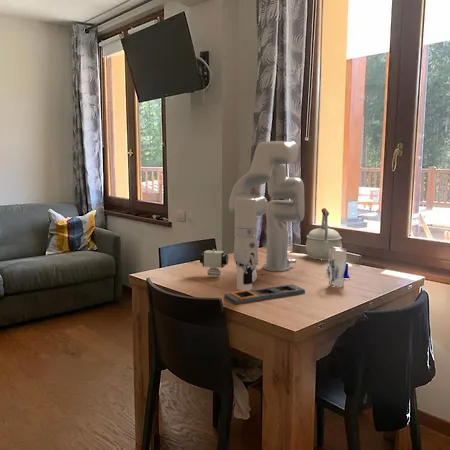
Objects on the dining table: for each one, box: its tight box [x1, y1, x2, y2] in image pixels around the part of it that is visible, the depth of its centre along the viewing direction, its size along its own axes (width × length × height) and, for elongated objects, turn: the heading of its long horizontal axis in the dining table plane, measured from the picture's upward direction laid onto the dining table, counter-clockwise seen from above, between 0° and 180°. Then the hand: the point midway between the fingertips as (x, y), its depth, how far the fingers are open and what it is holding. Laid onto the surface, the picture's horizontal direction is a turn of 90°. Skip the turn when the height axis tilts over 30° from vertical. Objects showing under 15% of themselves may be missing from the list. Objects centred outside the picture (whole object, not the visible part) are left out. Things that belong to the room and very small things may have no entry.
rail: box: [224, 283, 306, 305], centre depth 167 cm, size 30×8×2 cm, turn 117°
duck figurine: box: [248, 262, 259, 284], centre depth 185 cm, size 12×8×11 cm
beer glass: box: [328, 247, 348, 288], centre depth 180 cm, size 7×7×15 cm
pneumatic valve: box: [198, 248, 229, 278], centre depth 193 cm, size 6×12×12 cm, turn 77°
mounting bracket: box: [327, 263, 350, 279], centre depth 199 cm, size 18×7×6 cm, turn 173°
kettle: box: [305, 207, 343, 261], centre depth 229 cm, size 25×18×25 cm
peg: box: [236, 265, 253, 291], centre depth 162 cm, size 4×4×8 cm
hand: (244, 281), depth 162 cm, fingers closed on peg, 3 cm apart
